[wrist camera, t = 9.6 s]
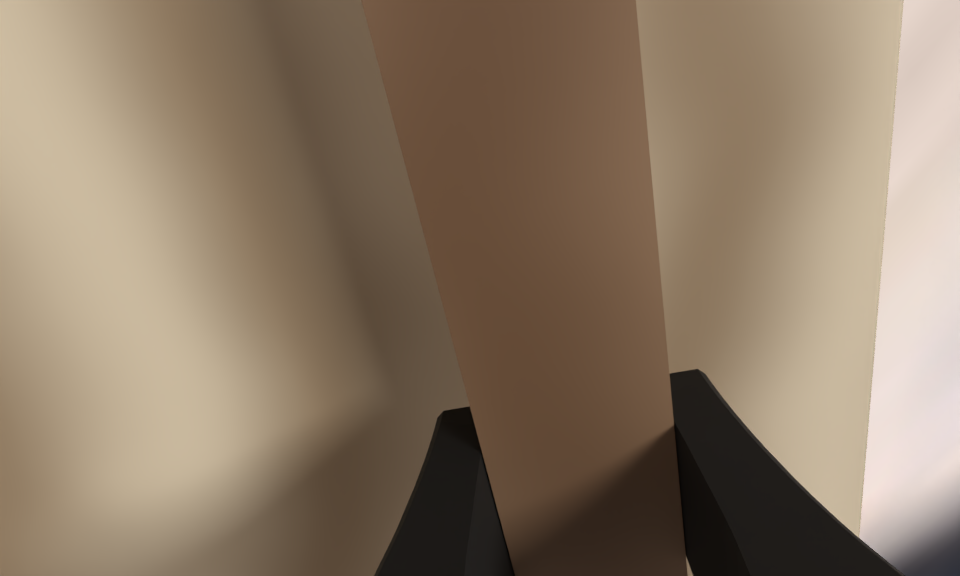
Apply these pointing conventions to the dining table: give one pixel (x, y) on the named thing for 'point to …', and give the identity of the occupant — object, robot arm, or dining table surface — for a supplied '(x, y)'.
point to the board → (378, 269)
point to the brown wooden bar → (545, 266)
